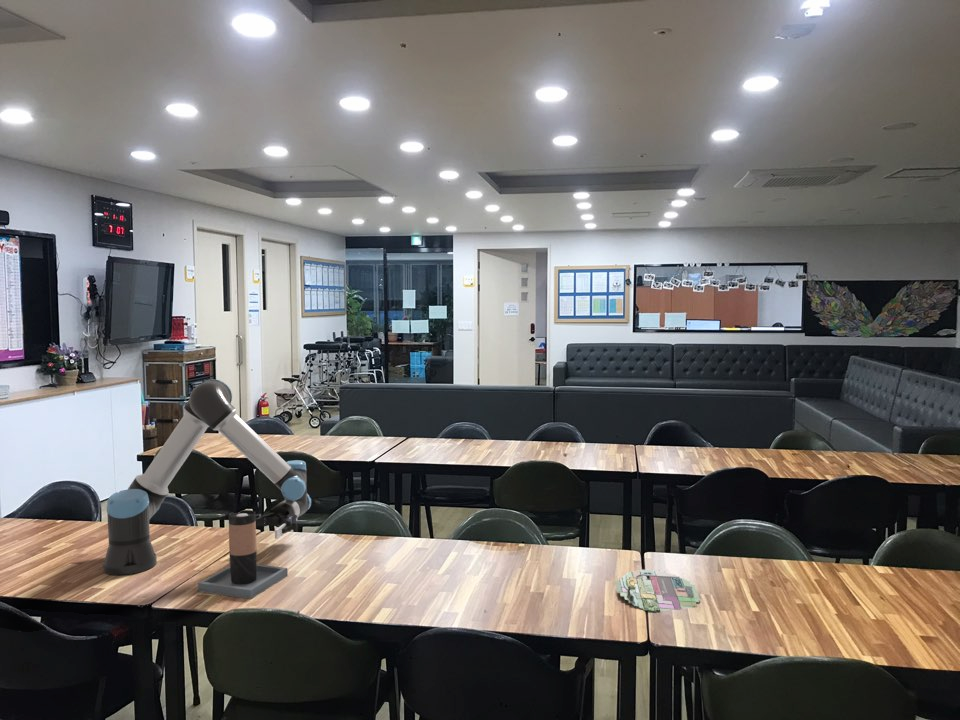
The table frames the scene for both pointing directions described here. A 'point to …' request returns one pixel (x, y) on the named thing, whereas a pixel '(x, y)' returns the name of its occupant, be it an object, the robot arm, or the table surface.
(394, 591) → the table surface
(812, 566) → the table surface
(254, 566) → the travel mug
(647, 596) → the city model
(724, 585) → the table surface
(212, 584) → the slate tray
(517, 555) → the table surface
